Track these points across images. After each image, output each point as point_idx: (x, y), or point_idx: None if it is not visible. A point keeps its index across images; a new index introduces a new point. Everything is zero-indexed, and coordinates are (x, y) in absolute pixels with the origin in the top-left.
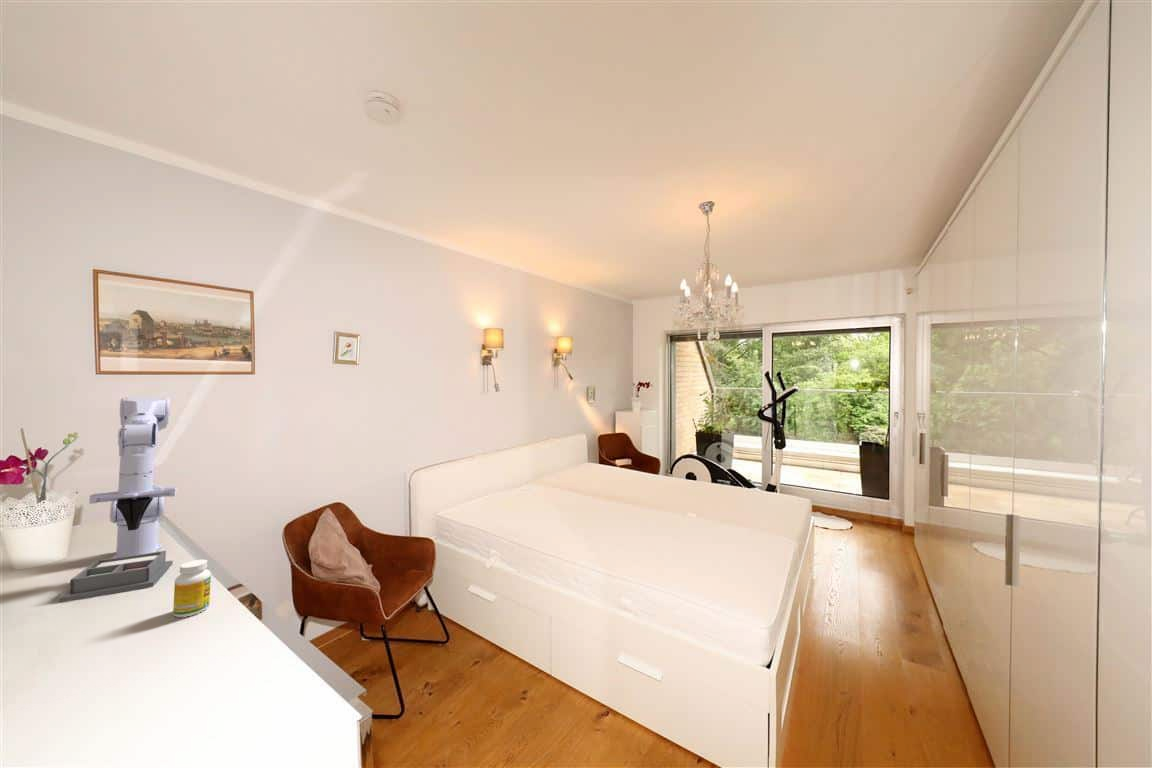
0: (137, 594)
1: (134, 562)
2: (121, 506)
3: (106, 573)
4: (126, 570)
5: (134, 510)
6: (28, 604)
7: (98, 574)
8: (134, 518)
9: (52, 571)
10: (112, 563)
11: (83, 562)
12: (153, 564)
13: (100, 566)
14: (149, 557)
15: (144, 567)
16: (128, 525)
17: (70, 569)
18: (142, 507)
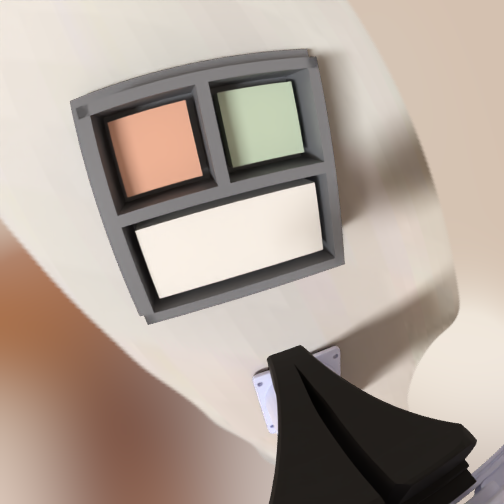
0: (92, 47)
1: (182, 197)
2: (437, 441)
3: (256, 156)
4: (197, 171)
5: (328, 452)
6: (366, 78)
7: (279, 153)
8: (301, 404)
9: (415, 303)
10: (281, 233)
11: (383, 348)
12: (92, 167)
13: (306, 209)
14: (176, 276)
15: (143, 190)
16: (313, 363)
17: (392, 311)
18: (278, 491)
